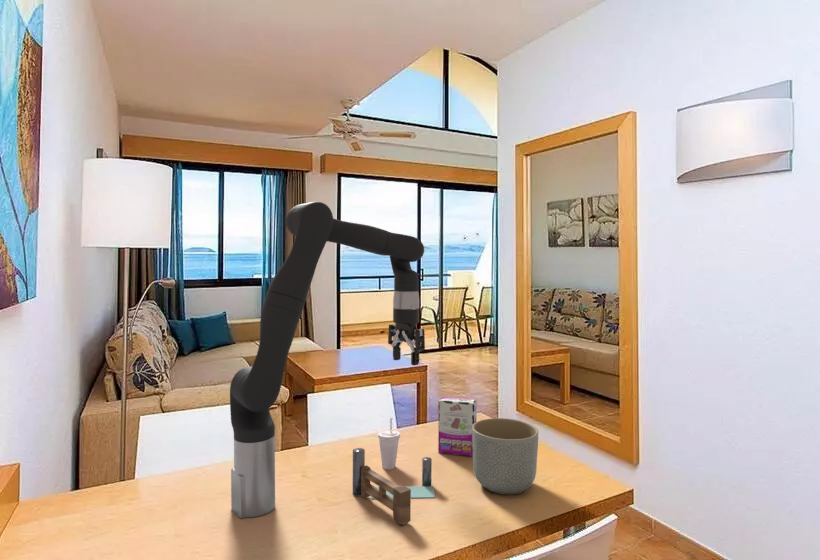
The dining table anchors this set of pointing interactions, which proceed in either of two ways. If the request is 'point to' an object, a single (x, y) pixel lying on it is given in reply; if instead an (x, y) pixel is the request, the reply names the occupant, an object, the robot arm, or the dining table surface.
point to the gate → (400, 495)
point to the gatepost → (357, 469)
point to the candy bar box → (456, 425)
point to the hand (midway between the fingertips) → (405, 362)
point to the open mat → (418, 492)
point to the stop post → (426, 471)
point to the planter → (504, 454)
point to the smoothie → (389, 447)
